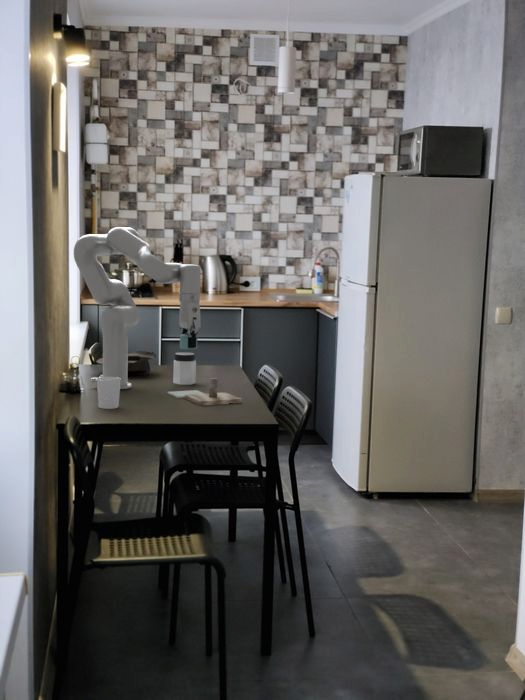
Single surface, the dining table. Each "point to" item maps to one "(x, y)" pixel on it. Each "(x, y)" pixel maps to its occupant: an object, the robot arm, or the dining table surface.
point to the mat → (184, 393)
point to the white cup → (108, 392)
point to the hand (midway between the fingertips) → (188, 346)
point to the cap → (185, 341)
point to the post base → (212, 400)
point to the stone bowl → (138, 362)
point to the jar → (184, 369)
